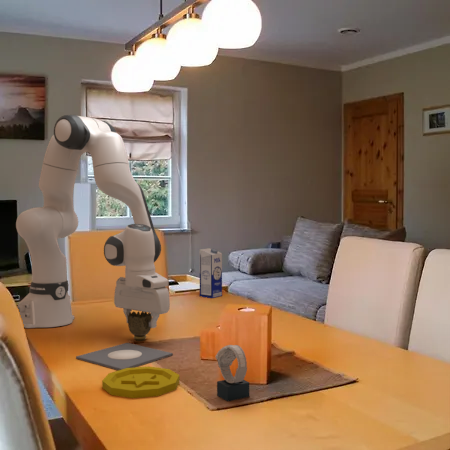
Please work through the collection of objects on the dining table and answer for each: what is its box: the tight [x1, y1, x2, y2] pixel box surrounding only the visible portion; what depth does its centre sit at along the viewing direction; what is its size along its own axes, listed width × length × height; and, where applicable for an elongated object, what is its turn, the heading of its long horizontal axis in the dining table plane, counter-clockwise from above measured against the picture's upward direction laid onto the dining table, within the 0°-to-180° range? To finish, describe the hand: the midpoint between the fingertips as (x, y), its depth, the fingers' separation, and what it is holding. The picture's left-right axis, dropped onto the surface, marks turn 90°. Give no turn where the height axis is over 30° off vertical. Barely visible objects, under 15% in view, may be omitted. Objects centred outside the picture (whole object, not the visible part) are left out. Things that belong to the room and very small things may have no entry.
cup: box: [127, 310, 152, 342], centre depth 177 cm, size 8×7×8 cm
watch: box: [215, 344, 250, 402], centre depth 128 cm, size 6×8×11 cm
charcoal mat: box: [75, 342, 174, 371], centre depth 159 cm, size 18×18×1 cm
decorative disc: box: [101, 365, 180, 399], centre depth 136 cm, size 17×18×2 cm
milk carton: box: [199, 247, 223, 299], centre depth 249 cm, size 7×7×20 cm
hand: (141, 325), depth 177 cm, fingers open, 8 cm apart
